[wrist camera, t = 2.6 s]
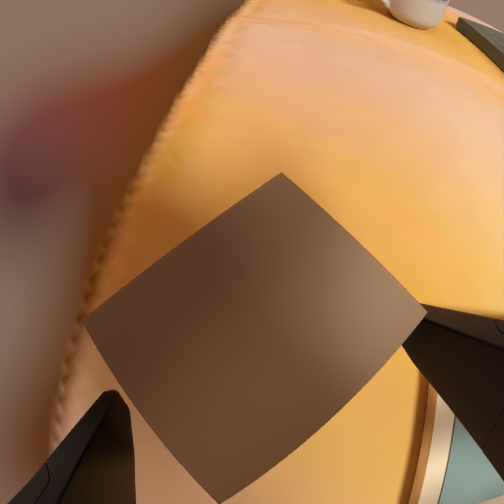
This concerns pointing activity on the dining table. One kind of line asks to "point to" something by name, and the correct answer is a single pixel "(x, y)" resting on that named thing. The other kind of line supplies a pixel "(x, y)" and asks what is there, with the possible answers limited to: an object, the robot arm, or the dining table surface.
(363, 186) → the dining table surface
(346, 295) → the stepped wooden pillar
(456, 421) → the teal framed panel
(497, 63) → the case
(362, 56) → the dining table surface
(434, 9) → the teacup
